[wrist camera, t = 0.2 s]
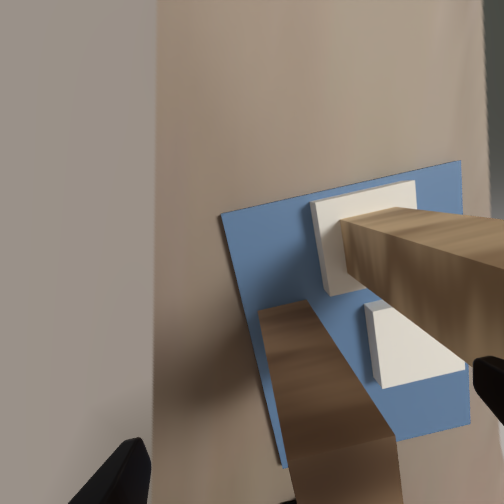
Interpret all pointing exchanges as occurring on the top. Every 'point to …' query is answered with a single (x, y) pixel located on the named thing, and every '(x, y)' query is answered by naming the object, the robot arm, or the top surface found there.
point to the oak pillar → (434, 273)
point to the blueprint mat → (352, 296)
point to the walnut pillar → (326, 415)
